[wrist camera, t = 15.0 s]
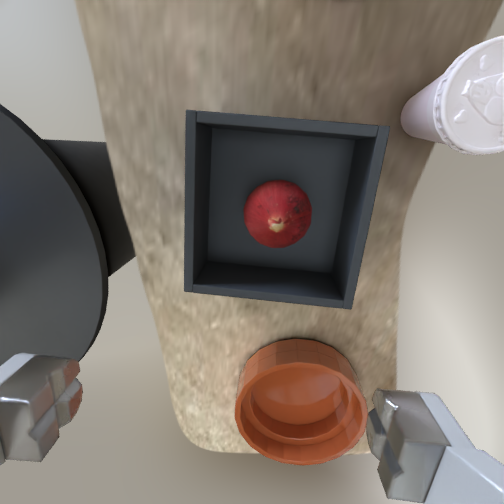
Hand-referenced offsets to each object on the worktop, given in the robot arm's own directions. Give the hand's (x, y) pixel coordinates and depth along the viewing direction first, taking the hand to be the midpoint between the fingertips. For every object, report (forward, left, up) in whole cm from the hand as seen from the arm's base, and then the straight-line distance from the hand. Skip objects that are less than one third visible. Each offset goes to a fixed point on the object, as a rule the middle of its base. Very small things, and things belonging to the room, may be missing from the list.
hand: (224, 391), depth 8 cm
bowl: (+6, -21, -24) cm, 32 cm away
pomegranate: (+2, +1, -23) cm, 23 cm away
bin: (+1, +1, -24) cm, 24 cm away
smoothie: (+13, +10, -24) cm, 29 cm away
